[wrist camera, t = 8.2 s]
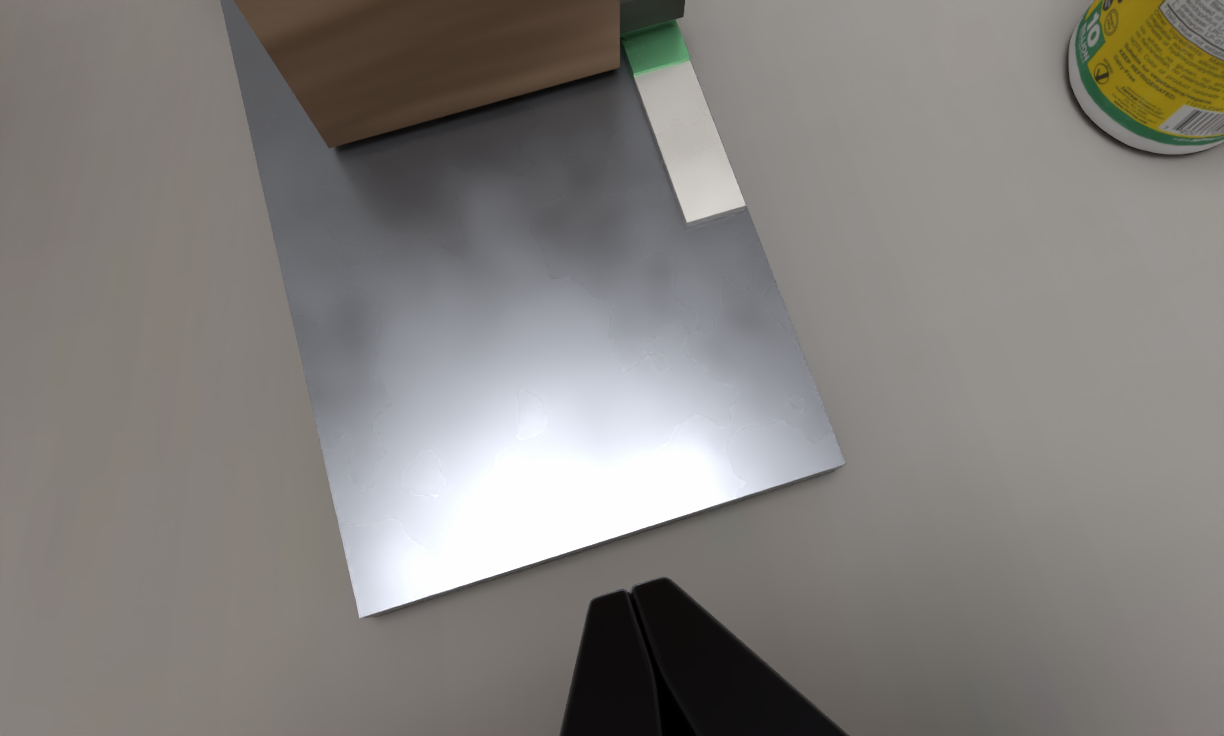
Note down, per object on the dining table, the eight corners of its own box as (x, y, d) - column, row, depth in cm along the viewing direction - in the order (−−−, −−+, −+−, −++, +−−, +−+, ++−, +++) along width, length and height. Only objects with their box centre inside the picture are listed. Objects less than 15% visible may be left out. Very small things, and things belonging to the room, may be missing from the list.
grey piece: (833, 471, 22) (1040, 346, 11) (374, 617, 21) (115, 635, 10) (588, -176, 27) (567, -684, 17) (213, -80, 26) (-66, -547, 16)
